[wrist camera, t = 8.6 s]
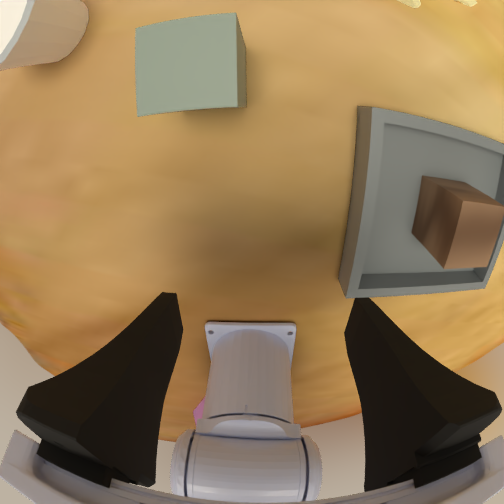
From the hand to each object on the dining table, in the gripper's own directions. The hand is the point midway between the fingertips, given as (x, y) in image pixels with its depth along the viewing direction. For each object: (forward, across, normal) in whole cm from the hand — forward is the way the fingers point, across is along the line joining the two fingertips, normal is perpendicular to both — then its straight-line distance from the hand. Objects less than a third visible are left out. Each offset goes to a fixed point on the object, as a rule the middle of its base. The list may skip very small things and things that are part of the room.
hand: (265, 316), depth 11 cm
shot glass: (+10, +16, -16) cm, 24 cm away
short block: (+9, -13, -2) cm, 16 cm away
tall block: (+9, +3, -10) cm, 14 cm away
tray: (+9, -13, -2) cm, 16 cm away
